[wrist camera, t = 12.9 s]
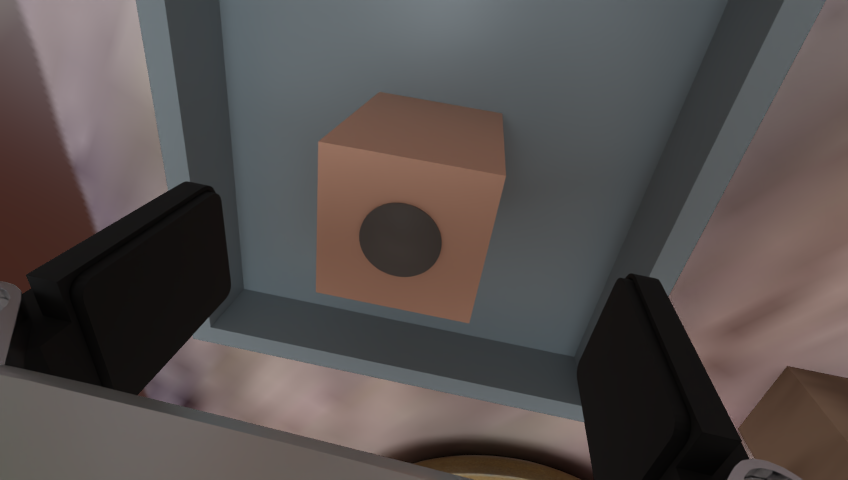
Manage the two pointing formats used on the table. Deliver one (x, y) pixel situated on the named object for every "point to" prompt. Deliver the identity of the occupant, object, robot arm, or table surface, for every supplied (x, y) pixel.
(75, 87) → the table surface
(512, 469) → the plant saucer
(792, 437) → the walnut block
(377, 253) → the terracotta block
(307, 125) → the tray
